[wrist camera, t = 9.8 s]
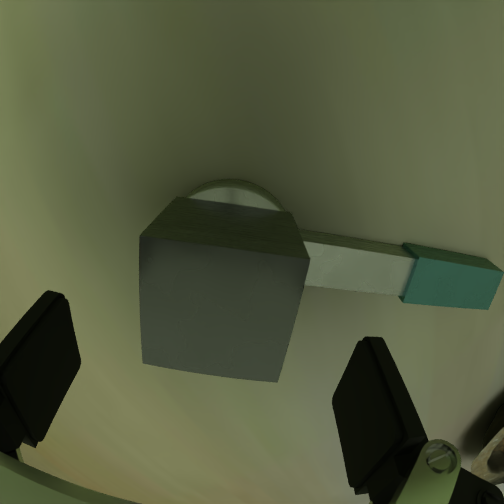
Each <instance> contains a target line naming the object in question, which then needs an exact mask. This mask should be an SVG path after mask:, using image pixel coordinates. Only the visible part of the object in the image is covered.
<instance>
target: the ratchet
mask: <svg viewBox="0 0 504 504" xmlns="http://www.w3.org/2000/svg"><path fill="white" fill-rule="evenodd" d="M185 198H193V199H201V200H209V201H216V202H223V203H230V204H238V205H244V206H251V207H258V208H265V209H271V210H278V211H284V212H285V210H284V209H283V207H282V206H281V204H280V203H279V202H278V201H277V199H276V198H275V197H274V196H273V195H271V194H270V193H269V192H268V191H266V190H265V189H263V188H262V187H260V186H258V185H256V184H253V183H250V182H247V181H243V180H238V179H221V180H216V181H212V182H209V183H206V184H204V185H202V186H200V187H198V188H196V189H195V190H193V191H192V192H191V193H190V194H188V195H187V196H186V197H185ZM298 230H299V232H300V235H301V237H302V240H303V242H304V245H305V247H306V249H307V252H308V254H309V257H310V259H311V260H310V264H309V268H308V272H307V276H306V280H305V284H304V285H310V286H318V287H326V288H335V289H343V290H352V291H361V292H369V293H379V294H388V295H397V296H398V297H399V298H400V299H401V301H402V302H403V303H411V304H422V305H433V306H445V307H457V308H470V309H484V310H488V309H489V307H490V304H491V302H492V300H493V298H494V295H495V293H496V291H497V288H498V286H499V284H500V281H501V279H502V276H503V274H504V272H503V271H502V270H501V269H499V268H498V267H497V266H495V265H494V264H493V263H492V262H490V261H489V260H488V259H485V258H480V257H476V256H471V255H466V254H461V253H456V252H451V251H446V250H441V249H435V248H430V247H425V246H420V245H414V244H409V243H403V246H397V245H392V244H386V243H380V242H374V241H369V240H363V239H357V238H351V237H345V236H339V235H332V234H326V233H320V232H314V231H307V230H301V229H298Z"/></svg>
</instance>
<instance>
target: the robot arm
mask: <svg viewBox="0 0 504 504" xmlns="http://www.w3.org/2000/svg"><path fill="white" fill-rule="evenodd" d="M80 365H81V358H80V354H79V349H78V345H77V341H76V336H75V332H74V327H73V322H72V317H71V312H70V306H69V302H68V300H67V299H65V296H64V295H63V294H62V293H58V292H54V291H49V290H48V291H46V292H45V293H44V294H43V295H42V296H41V297H40V298H39V299H38V300H37V301H36V302H35V303H34V305H33V306H32V307H31V308H30V309H29V310H28V311H27V312H26V314H25V315H24V316H23V317H22V318H21V319H20V320H19V322H18V323H17V324H16V325H15V326H14V328H13V329H12V330H11V331H10V332H9V333H8V335H7V336H6V337H5V338H4V340H3V341H2V342H1V343H0V504H140V503H136V502H132V501H128V500H124V499H121V498H117V497H113V496H110V495H106V494H103V493H100V492H97V491H93V490H90V489H87V488H84V487H81V486H79V485H76V484H73V483H70V482H68V481H65V480H62V479H60V478H57V477H55V476H52V475H50V474H48V473H45V472H43V471H41V470H38V469H36V468H34V467H31V466H29V465H27V464H25V463H24V461H23V458H22V454H21V451H20V445H21V443H22V442H23V443H25V444H27V445H30V446H32V447H34V448H36V446H37V444H38V442H41V441H42V440H43V439H44V437H45V435H46V433H47V431H48V429H49V427H50V425H51V423H52V421H53V419H54V417H55V415H56V413H57V411H58V409H59V407H60V405H61V403H62V401H63V399H64V397H65V395H66V393H67V391H68V389H69V387H70V385H71V383H72V382H73V380H74V378H75V376H76V374H77V372H78V370H79V368H80ZM332 405H333V410H334V414H335V419H336V424H337V428H338V433H339V438H340V443H341V447H342V452H343V457H344V462H345V467H346V472H347V477H348V483H349V485H350V487H354V491H355V495H359V494H366V493H369V497H370V502H369V504H504V497H503V494H502V492H501V491H500V489H499V488H498V487H497V486H495V485H494V484H492V483H490V482H488V481H486V480H484V479H482V478H480V477H478V476H476V475H474V474H472V473H471V472H469V471H467V470H465V469H463V468H461V456H460V454H459V452H458V450H457V449H456V448H455V447H454V445H452V444H451V443H449V442H448V441H445V440H442V439H435V440H431V441H428V438H427V435H426V433H425V430H424V428H423V426H422V423H421V421H420V418H419V416H418V414H417V411H416V409H415V407H414V404H413V402H412V400H411V397H410V395H409V393H408V391H407V388H406V386H405V384H404V382H403V379H402V377H401V375H400V373H399V371H398V368H397V366H396V364H395V362H394V360H393V358H392V356H391V353H390V351H389V349H388V347H387V345H386V343H385V341H384V339H383V338H382V337H368V336H366V337H364V338H363V340H362V341H358V342H357V344H356V347H355V349H354V351H353V354H352V356H351V358H350V360H349V363H348V365H347V367H346V369H345V371H344V373H343V376H342V378H341V380H340V382H339V384H338V386H337V388H336V390H335V392H334V395H333V398H332Z"/></svg>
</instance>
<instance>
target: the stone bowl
mask: <svg viewBox="0 0 504 504" xmlns="http://www.w3.org/2000/svg"><path fill="white" fill-rule="evenodd" d="M471 473H472V474H474V475H476V476H478V477H480V478H482V479H484V480H486V481H488V482H490V483H492V484H494V485H497V484H501V483H504V404H503V405H502V406H501V407H500V408H499V409H498V411H497V414H496V416H495V418H494V420H493V421H492V423H491V425H490V426H489V428H488V430H487V432H486V434H485V437H484V441H483V450H482V451H481V452H480V454H479V455H478V456H477V457H476V458H475V459H474V461H473V463H472V466H471Z"/></svg>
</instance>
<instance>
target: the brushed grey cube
mask: <svg viewBox="0 0 504 504" xmlns="http://www.w3.org/2000/svg"><path fill="white" fill-rule="evenodd" d="M310 260H311V259H310V257H309V254H308V252H307V249H306V247H305V245H304V242H303V240H302V237H301V235H300V232H299V230H298V227H297V225H296V223H295V220H294V218H293V215H292V213H290V212H284V211H278V210H271V209H265V208H258V207H251V206H244V205H238V204H230V203H223V202H216V201H209V200H201V199H193V198H185V197H176V198H175V199H174V200H173V201H172V202H171V203H170V204H169V205H168V206H167V207H166V208H165V209H164V210H163V211H162V212H161V213H160V214H159V215H158V216H157V217H156V219H155V220H154V221H153V222H152V223H151V224H150V225H149V226H148V227H147V228H146V229H145V230H144V231H143V232H142V233H141V235H140V244H139V294H140V325H141V344H142V359H143V363H144V364H149V365H154V366H159V367H164V368H170V369H176V370H181V371H187V372H194V373H200V374H207V375H214V376H221V377H229V378H237V379H246V380H256V381H266V382H278V379H279V376H280V372H281V369H282V366H283V362H284V359H285V355H286V352H287V348H288V345H289V341H290V337H291V334H292V330H293V326H294V323H295V319H296V315H297V311H298V308H299V304H300V300H301V296H302V292H303V288H304V284H305V280H306V276H307V272H308V268H309V264H310Z"/></svg>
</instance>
